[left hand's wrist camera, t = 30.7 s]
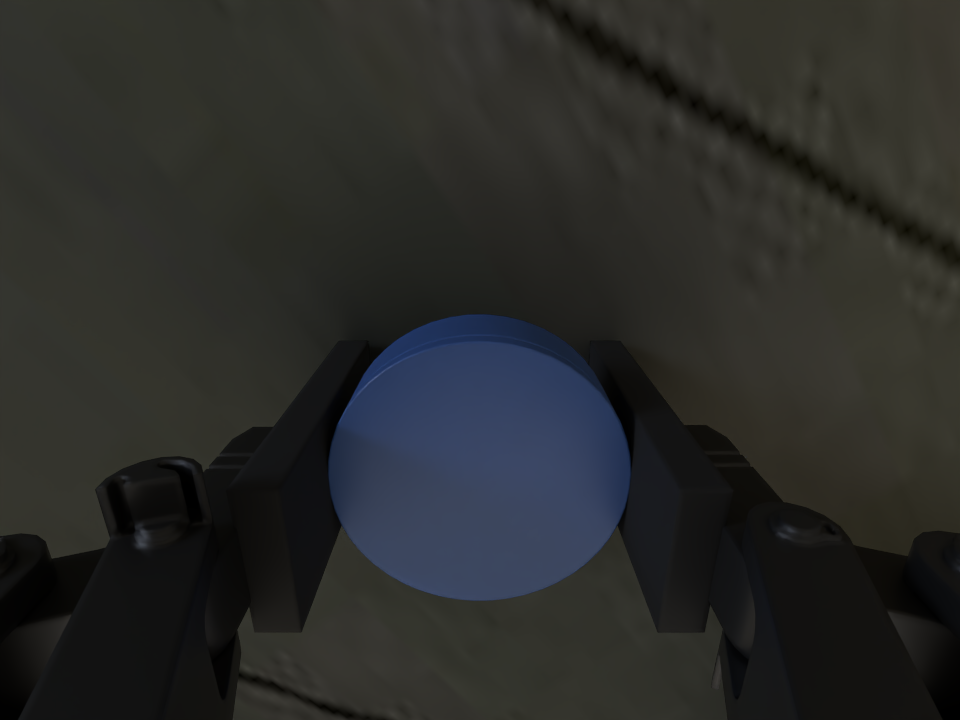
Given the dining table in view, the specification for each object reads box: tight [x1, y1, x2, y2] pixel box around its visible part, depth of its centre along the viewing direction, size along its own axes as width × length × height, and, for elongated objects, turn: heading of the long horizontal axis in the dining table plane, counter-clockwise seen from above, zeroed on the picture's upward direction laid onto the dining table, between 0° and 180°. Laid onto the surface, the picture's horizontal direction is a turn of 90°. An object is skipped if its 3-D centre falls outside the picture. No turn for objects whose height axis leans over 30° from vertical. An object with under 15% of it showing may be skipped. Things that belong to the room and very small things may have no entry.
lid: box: [328, 314, 631, 601], centre depth 11 cm, size 6×6×2 cm
